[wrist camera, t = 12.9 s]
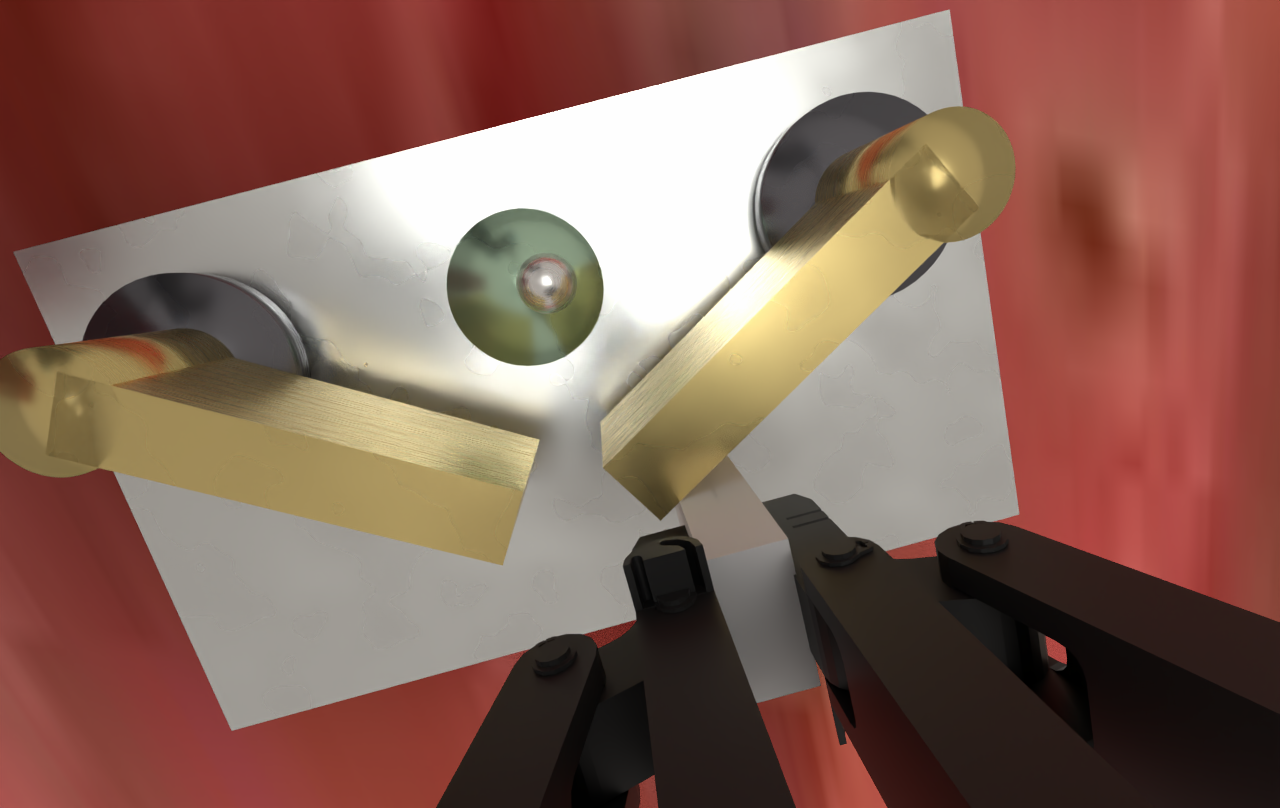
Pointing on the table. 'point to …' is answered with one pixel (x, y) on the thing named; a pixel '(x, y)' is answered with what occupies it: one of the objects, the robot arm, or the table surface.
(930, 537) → the levelling plate
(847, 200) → the knob
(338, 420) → the knob
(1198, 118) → the table surface
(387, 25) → the table surface
